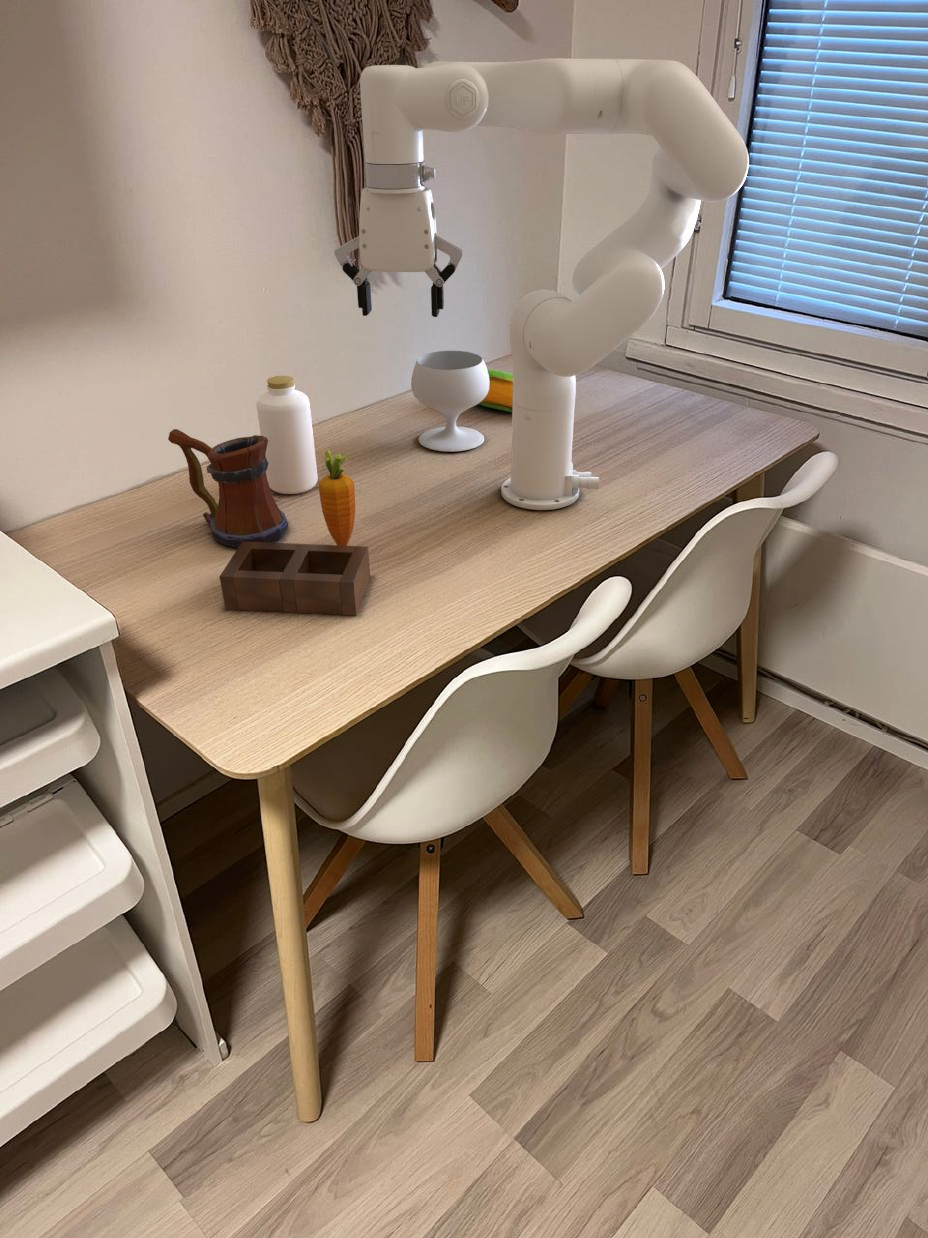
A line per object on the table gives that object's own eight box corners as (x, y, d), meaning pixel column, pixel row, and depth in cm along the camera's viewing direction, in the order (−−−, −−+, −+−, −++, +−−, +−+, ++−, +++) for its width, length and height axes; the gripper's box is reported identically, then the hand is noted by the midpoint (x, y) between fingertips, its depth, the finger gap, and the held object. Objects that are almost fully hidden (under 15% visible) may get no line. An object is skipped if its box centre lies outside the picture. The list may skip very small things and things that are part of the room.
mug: (162, 532, 136) (141, 438, 128) (212, 502, 145) (196, 412, 137) (257, 557, 129) (242, 459, 121) (304, 524, 138) (293, 431, 130)
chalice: (487, 426, 172) (487, 347, 164) (491, 454, 160) (492, 371, 152) (414, 428, 172) (410, 349, 164) (412, 456, 160) (409, 372, 152)
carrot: (326, 541, 133) (315, 445, 125) (360, 540, 133) (351, 444, 125) (324, 558, 129) (313, 459, 121) (359, 556, 129) (350, 458, 121)
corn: (474, 357, 183) (560, 374, 174) (475, 393, 188) (559, 411, 178) (453, 369, 178) (540, 387, 169) (455, 406, 183) (540, 425, 173)
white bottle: (308, 498, 146) (296, 389, 136) (260, 494, 147) (244, 386, 137) (325, 477, 153) (314, 372, 143) (278, 474, 154) (265, 370, 144)
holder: (370, 578, 124) (368, 546, 121) (356, 615, 116) (353, 582, 113) (247, 573, 125) (242, 541, 123) (225, 609, 117) (219, 576, 115)
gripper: (464, 174, 118) (466, 308, 127) (335, 173, 120) (346, 306, 129) (458, 181, 112) (460, 322, 121) (322, 181, 113) (334, 319, 123)
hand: (401, 313), depth 125 cm, fingers open, 9 cm apart
